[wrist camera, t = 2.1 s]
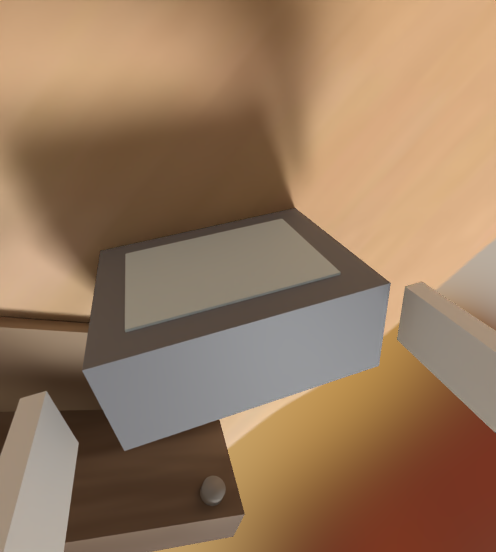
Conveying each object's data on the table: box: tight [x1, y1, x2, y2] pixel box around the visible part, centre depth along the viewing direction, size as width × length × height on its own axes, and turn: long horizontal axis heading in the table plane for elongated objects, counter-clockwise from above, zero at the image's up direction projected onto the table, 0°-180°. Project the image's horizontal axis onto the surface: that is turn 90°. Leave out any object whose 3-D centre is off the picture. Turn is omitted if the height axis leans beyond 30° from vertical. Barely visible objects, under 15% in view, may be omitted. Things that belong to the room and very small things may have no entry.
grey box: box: [82, 208, 391, 451], centre depth 15 cm, size 4×10×8 cm, turn 96°
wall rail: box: [0, 317, 244, 552], centre depth 16 cm, size 8×16×8 cm, turn 71°
